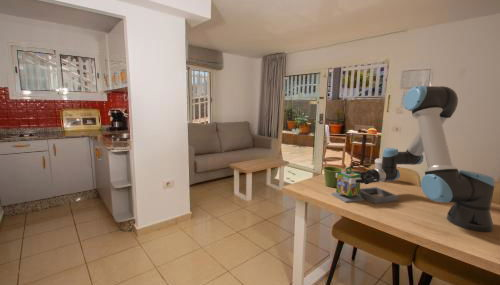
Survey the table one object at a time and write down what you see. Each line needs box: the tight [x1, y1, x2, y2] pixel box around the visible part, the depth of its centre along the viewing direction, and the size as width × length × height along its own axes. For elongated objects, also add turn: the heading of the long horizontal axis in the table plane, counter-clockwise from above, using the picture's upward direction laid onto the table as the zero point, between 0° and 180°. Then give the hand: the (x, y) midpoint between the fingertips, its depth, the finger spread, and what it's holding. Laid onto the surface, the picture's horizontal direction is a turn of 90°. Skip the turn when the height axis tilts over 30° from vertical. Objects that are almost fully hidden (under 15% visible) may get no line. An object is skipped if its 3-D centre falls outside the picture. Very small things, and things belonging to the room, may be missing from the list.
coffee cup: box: [374, 157, 383, 169], centre depth 168 cm, size 10×10×15 cm
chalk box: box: [335, 166, 361, 197], centre depth 133 cm, size 9×9×15 cm
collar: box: [358, 186, 399, 205], centre depth 136 cm, size 15×15×3 cm
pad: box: [331, 192, 365, 203], centre depth 135 cm, size 12×12×1 cm
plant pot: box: [322, 166, 343, 188], centre depth 154 cm, size 12×12×11 cm
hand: (342, 178), depth 132 cm, fingers closed on chalk box, 11 cm apart
